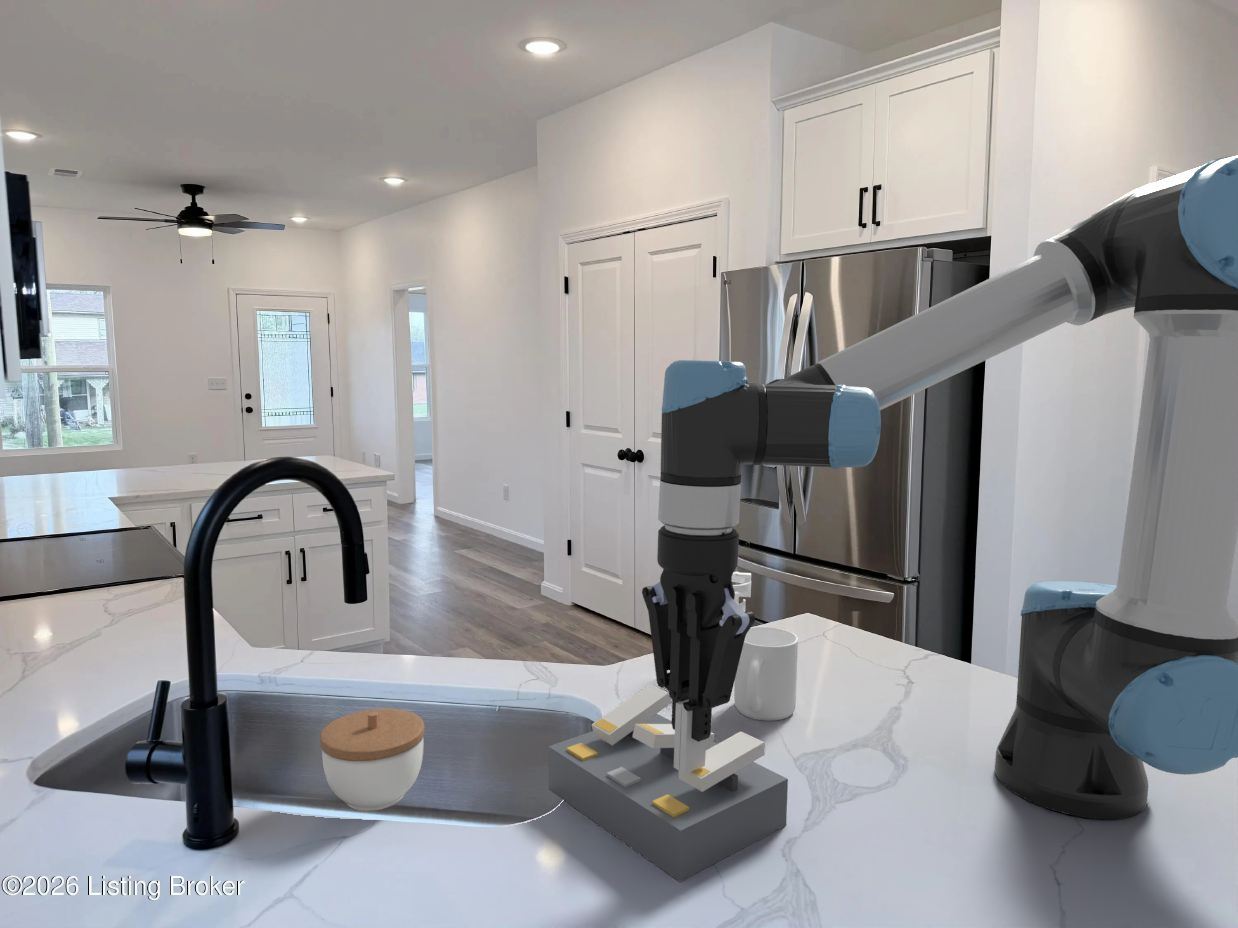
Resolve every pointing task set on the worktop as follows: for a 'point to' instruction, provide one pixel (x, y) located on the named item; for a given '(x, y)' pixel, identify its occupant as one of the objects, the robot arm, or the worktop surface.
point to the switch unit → (665, 801)
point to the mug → (767, 674)
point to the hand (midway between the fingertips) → (689, 766)
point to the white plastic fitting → (741, 588)
